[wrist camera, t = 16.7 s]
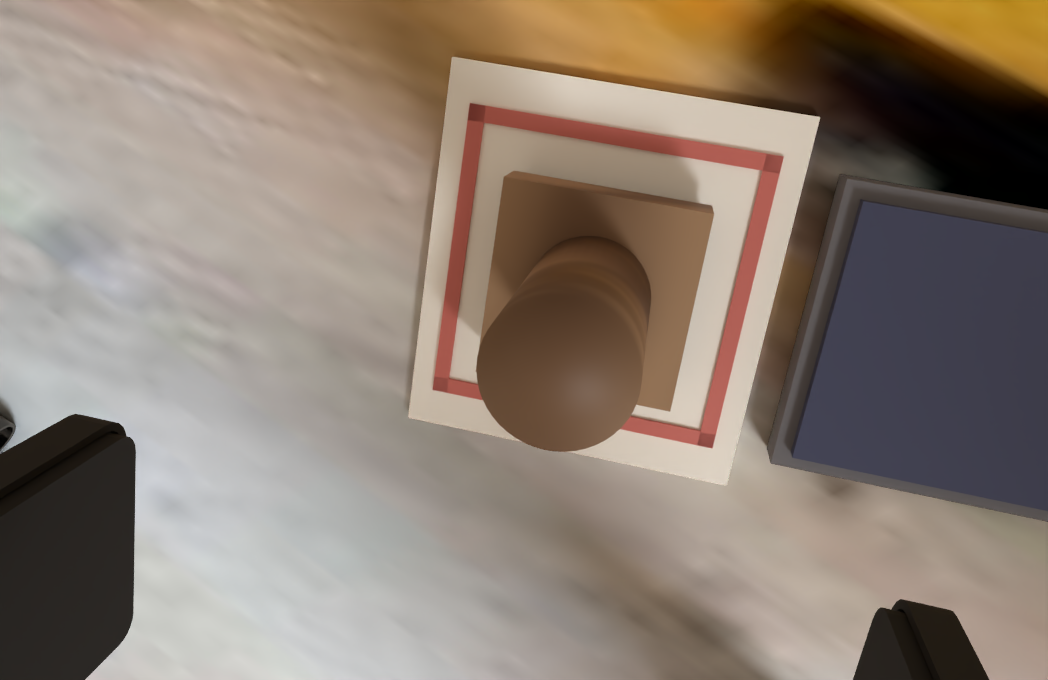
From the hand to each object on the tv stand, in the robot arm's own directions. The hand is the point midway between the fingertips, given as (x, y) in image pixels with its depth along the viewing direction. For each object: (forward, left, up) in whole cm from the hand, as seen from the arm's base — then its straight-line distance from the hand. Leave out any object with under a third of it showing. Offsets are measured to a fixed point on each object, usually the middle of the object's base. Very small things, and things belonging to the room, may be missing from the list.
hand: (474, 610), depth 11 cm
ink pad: (-11, 0, -18) cm, 21 cm away
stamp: (0, 0, -18) cm, 18 cm away
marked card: (0, 0, -18) cm, 18 cm away
